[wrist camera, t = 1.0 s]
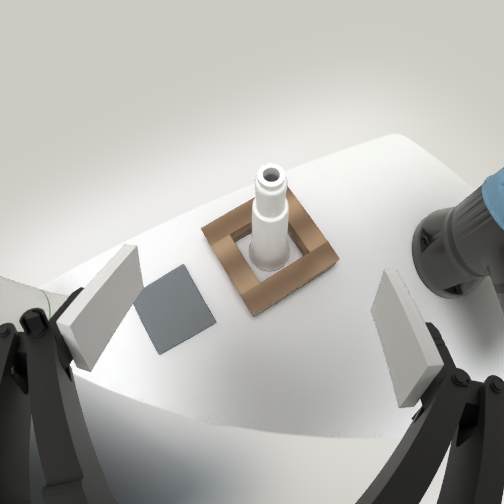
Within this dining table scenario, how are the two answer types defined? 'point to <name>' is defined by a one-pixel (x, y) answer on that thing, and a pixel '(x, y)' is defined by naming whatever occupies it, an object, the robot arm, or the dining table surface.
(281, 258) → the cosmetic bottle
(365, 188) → the dining table surface
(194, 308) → the mat
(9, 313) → the cylindrical container
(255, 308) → the collar
